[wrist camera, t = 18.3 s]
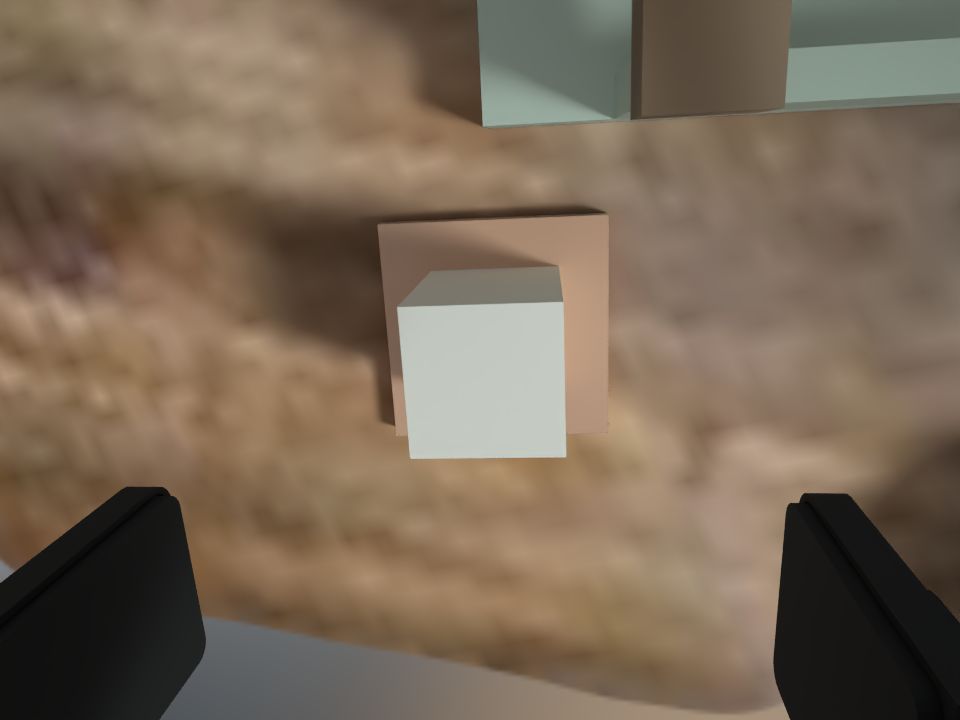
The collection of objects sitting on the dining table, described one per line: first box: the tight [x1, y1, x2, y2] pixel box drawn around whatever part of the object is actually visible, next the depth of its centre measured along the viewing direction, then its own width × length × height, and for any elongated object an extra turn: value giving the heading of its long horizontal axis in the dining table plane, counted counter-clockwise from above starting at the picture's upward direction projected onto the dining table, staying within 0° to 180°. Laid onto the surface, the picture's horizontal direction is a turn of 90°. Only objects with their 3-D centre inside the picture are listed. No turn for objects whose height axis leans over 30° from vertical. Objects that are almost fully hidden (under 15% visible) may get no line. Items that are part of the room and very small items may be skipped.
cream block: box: [397, 266, 566, 459], centre depth 22 cm, size 4×4×6 cm
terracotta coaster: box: [377, 213, 609, 436], centre depth 25 cm, size 8×8×1 cm
